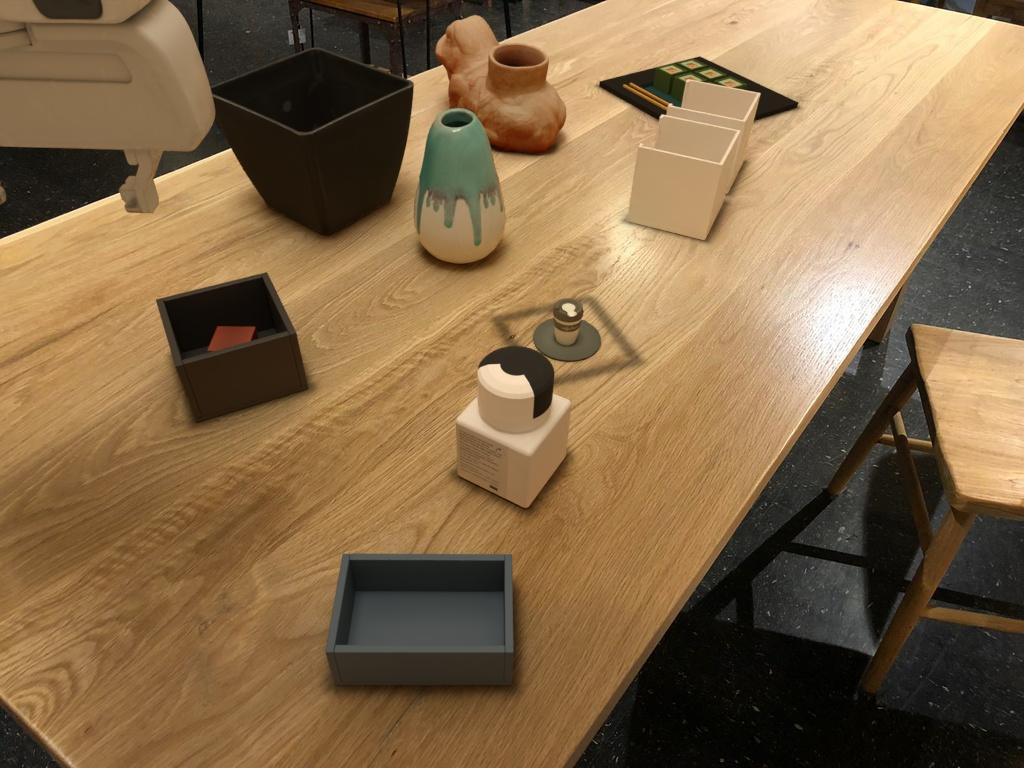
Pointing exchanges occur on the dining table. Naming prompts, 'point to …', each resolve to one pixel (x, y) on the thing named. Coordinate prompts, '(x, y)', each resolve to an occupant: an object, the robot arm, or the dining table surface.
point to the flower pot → (318, 135)
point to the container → (513, 426)
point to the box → (422, 620)
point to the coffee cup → (567, 333)
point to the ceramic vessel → (501, 87)
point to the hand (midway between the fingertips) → (67, 207)
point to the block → (231, 337)
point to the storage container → (693, 159)
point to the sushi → (668, 85)
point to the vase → (458, 191)
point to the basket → (237, 369)
